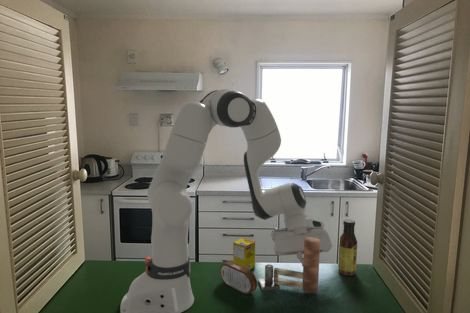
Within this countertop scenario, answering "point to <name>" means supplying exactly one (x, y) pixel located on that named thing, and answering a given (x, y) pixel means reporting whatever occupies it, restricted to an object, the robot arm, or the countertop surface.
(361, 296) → the countertop surface
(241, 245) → the supplement box
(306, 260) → the wooden dowel roller
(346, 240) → the sauce bottle
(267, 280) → the hinge post
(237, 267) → the tin
